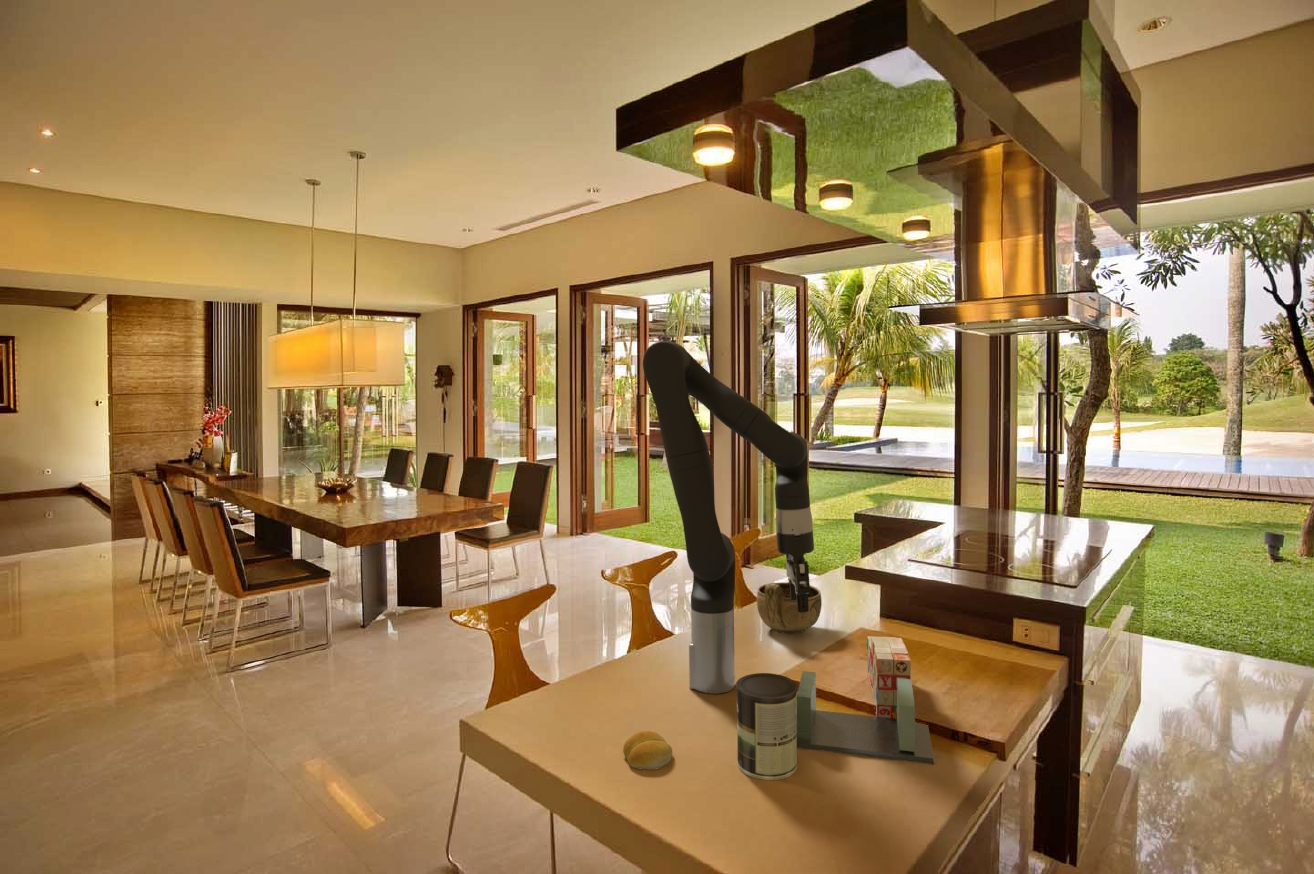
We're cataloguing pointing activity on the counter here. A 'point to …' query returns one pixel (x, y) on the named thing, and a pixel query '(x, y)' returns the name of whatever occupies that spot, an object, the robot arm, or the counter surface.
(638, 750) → the bread roll
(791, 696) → the coffee can
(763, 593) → the ceramic bowl
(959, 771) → the counter surface
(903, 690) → the sliding jaw
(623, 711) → the counter surface
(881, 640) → the stack of blocks
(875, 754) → the vise
